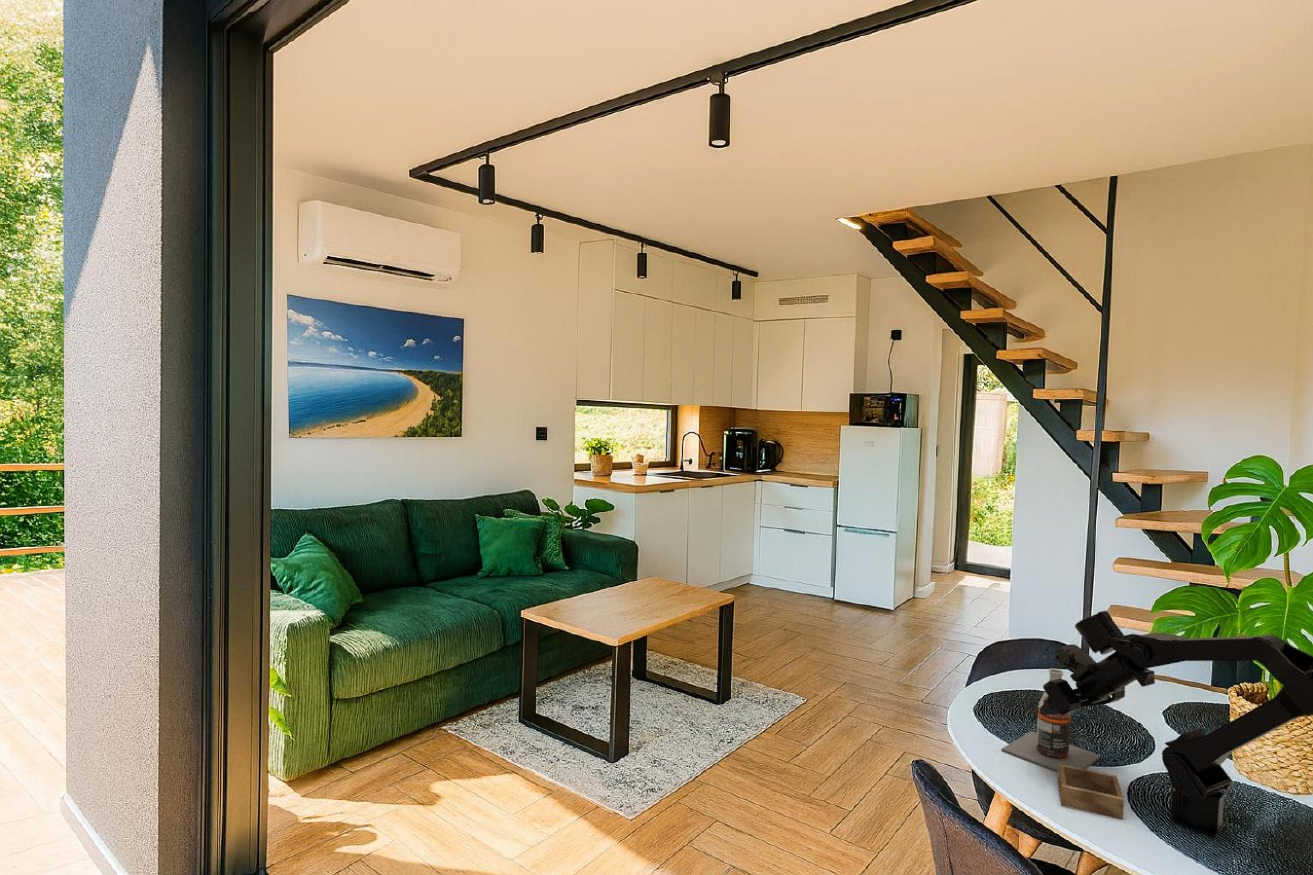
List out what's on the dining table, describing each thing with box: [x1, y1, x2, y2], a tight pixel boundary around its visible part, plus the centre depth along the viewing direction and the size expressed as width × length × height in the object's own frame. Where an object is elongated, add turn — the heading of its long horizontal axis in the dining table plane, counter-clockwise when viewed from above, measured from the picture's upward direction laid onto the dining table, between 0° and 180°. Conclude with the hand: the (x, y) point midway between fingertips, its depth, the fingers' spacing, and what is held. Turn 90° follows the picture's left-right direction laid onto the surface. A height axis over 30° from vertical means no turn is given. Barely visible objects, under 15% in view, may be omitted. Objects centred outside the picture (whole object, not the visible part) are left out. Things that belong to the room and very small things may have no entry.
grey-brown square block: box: [1000, 731, 1101, 774], centre depth 153 cm, size 14×14×1 cm
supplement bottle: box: [1036, 696, 1071, 758], centre depth 152 cm, size 6×6×11 cm
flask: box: [1037, 668, 1064, 709], centre depth 175 cm, size 7×7×10 cm
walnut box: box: [1057, 764, 1125, 820], centre depth 135 cm, size 10×10×4 cm
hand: (1055, 708), depth 152 cm, fingers open, 9 cm apart
